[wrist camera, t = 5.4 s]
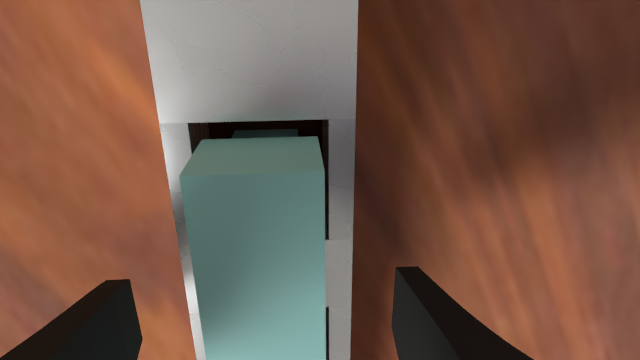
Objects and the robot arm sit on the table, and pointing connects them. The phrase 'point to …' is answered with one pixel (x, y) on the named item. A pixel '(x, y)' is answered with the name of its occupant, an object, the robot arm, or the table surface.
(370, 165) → the table surface
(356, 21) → the rail
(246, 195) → the teal block
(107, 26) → the table surface
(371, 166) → the table surface
